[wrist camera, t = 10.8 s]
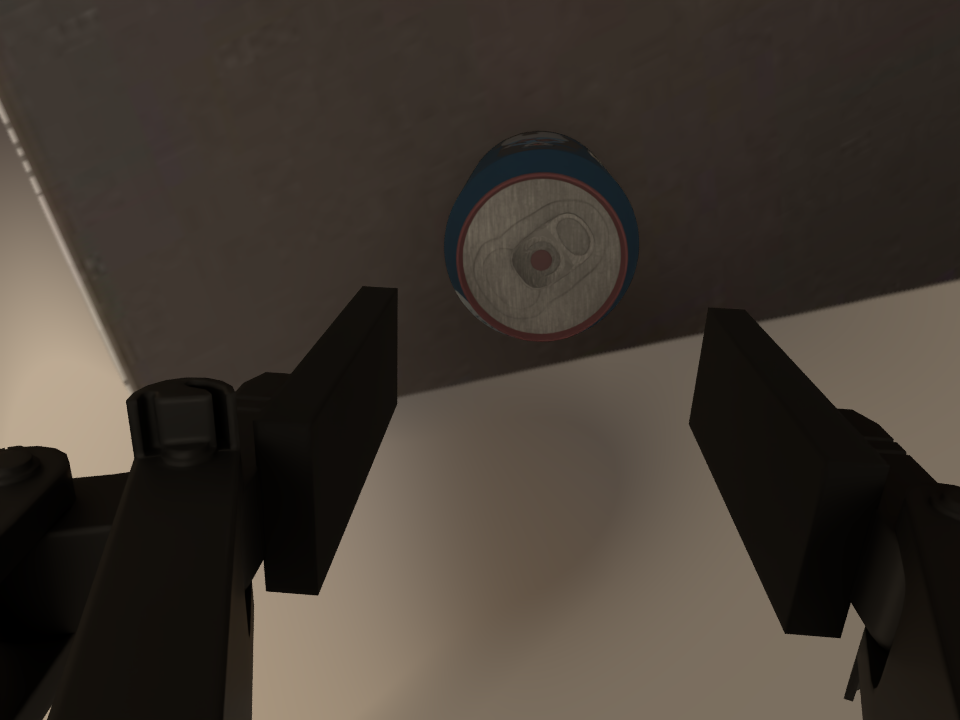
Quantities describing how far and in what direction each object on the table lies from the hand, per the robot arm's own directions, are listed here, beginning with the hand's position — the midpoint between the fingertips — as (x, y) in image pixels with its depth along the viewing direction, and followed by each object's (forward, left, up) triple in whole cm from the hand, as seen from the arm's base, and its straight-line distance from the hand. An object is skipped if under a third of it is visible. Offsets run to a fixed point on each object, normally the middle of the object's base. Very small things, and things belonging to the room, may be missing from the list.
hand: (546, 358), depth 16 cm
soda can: (0, 0, -21) cm, 21 cm away
